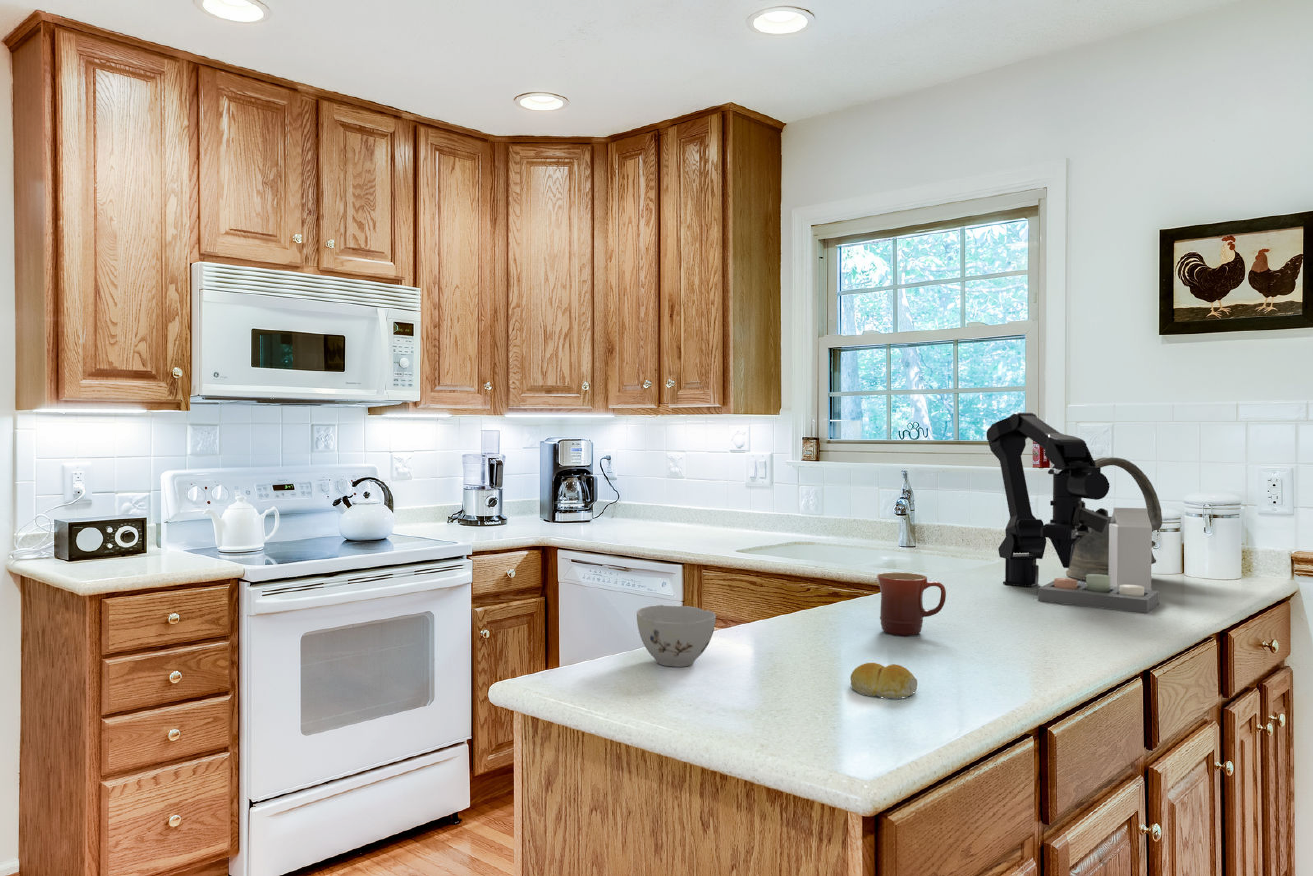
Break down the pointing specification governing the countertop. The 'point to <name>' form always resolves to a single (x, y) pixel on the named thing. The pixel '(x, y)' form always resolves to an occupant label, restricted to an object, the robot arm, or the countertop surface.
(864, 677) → the bread roll
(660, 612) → the teacup
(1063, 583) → the terracotta button
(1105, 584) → the sage button
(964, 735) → the countertop surface
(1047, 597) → the panel
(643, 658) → the countertop surface
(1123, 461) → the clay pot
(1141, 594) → the cream button
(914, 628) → the mug
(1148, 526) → the milk carton
